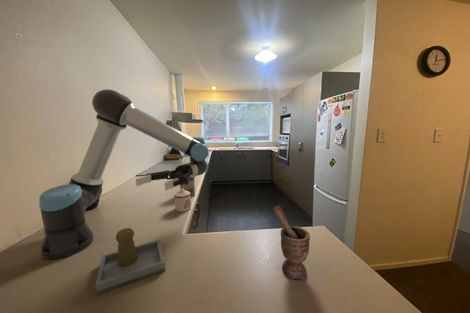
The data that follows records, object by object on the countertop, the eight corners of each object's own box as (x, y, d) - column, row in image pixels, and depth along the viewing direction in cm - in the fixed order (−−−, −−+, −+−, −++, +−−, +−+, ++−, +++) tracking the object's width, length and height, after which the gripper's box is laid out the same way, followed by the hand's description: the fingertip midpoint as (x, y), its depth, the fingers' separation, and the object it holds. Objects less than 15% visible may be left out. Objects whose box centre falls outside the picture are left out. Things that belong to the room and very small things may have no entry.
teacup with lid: (186, 212, 100) (185, 192, 98) (171, 211, 102) (170, 191, 100) (196, 204, 111) (195, 185, 110) (182, 202, 114) (181, 184, 112)
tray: (96, 295, 51) (95, 285, 50) (103, 263, 63) (102, 255, 62) (165, 270, 59) (164, 262, 59) (159, 246, 71) (159, 239, 71)
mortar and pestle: (267, 273, 58) (268, 213, 55) (273, 255, 66) (274, 202, 63) (307, 284, 53) (310, 220, 50) (308, 264, 61) (311, 207, 58)
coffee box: (181, 198, 121) (180, 174, 119) (180, 194, 127) (179, 172, 125) (195, 196, 125) (194, 173, 122) (193, 193, 131) (192, 171, 128)
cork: (133, 252, 67) (130, 223, 65) (140, 259, 63) (138, 229, 61) (114, 261, 62) (111, 231, 61) (121, 269, 58) (117, 237, 57)
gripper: (210, 182, 82) (179, 198, 62) (165, 177, 91) (126, 190, 71) (209, 165, 81) (178, 177, 61) (164, 162, 90) (125, 171, 70)
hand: (150, 184), depth 66 cm, fingers open, 13 cm apart
